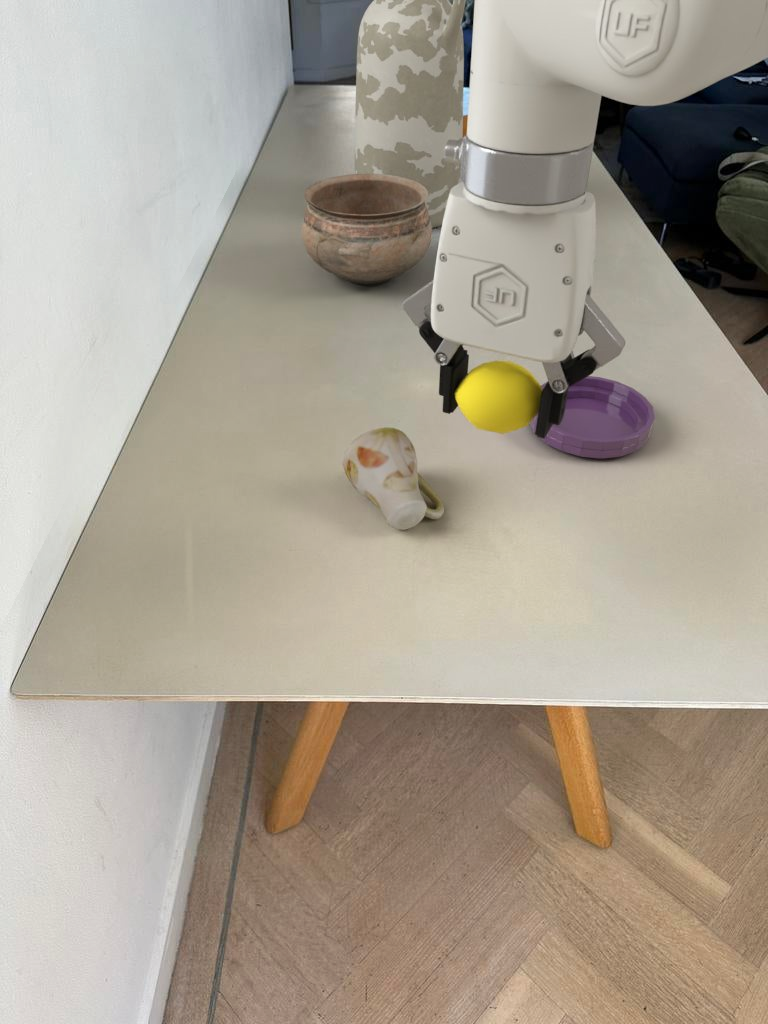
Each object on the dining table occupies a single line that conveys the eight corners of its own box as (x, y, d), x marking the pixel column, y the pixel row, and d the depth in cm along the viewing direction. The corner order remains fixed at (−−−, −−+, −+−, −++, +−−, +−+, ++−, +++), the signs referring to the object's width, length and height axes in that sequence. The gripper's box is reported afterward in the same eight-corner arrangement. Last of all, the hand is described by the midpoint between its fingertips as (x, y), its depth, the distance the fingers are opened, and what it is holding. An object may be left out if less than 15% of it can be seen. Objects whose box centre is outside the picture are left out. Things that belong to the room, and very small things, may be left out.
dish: (660, 412, 87) (666, 392, 85) (632, 475, 78) (638, 455, 76) (549, 384, 91) (552, 365, 90) (511, 441, 83) (513, 421, 81)
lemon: (449, 443, 57) (453, 380, 53) (454, 404, 61) (458, 344, 57) (544, 451, 56) (554, 388, 53) (543, 411, 60) (552, 350, 57)
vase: (334, 211, 136) (322, -53, 111) (408, 188, 146) (413, -60, 121) (412, 243, 125) (418, -43, 100) (487, 216, 134) (511, -52, 109)
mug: (383, 554, 69) (342, 454, 66) (365, 526, 79) (329, 438, 76) (457, 521, 70) (419, 421, 67) (431, 498, 79) (397, 409, 76)
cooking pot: (326, 241, 126) (322, 163, 118) (440, 249, 123) (443, 169, 115) (284, 307, 107) (276, 219, 99) (416, 318, 104) (419, 229, 97)
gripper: (371, 168, 47) (375, 413, 58) (658, 210, 41) (599, 474, 52) (421, 138, 52) (416, 368, 63) (683, 171, 46) (624, 419, 57)
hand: (499, 414), depth 58 cm, fingers closed on lemon, 6 cm apart
